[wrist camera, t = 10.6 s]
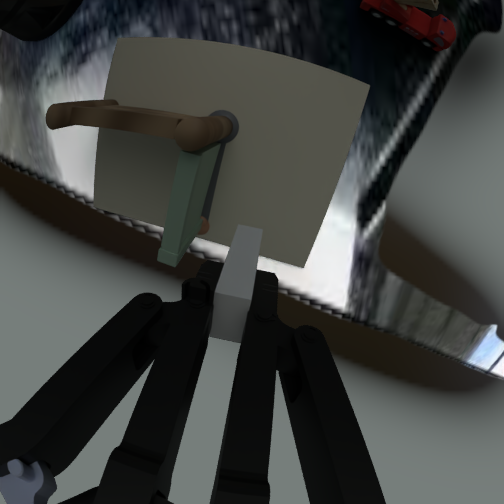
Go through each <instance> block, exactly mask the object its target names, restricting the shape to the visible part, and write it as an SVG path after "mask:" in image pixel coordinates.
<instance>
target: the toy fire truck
mask: <svg viewBox="0 0 504 504" xmlns="http://www.w3.org/2000/svg"><path fill="white" fill-rule="evenodd" d="M438 3H439V2H438V0H362V2H361V5H360V8H361V9H363V10H365V11H369V10H370V9H371V14H372V15H373V16H374V17H376V18H384V16H386V18H385V21H386V22H387V23H388V24H389V25H392V26H397V25H398V23H399V25H398V27H399V28H400V29H402V30H403V31H405V32H407V33H408V34H410V35H412V36H413V37H415V38H416V39H418V40H421V42H422V44H423V45H425V46H426V47H429V48H431V47H432V49H433V50H435V51H441V50H443V49H447V48H449V47H450V46H451V45H452V44H453V43H454V41H455V39H456V31H455V28H454V25H453V23H452V22H451V21H450V20H448V19H447V18H446V17H444V16H443V15H439V16H437V17H435V18H431V17H429V16H428V15H426V14H425V13H423V12H422V11H420V10H418V9H417V8H415V7H414V6H417V7H422V8H426V9H430V10H434V11H436V10H437V7H438Z"/></svg>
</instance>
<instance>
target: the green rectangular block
mask: <svg viewBox="0 0 504 504" xmlns="http://www.w3.org/2000/svg"><path fill="white" fill-rule="evenodd" d="M220 145H221V144H220V143H217V142H214V143H212V144H209V145H207V146H205V147H203V148H200V149H198V150H196V151H185V150H181V151H180V155H179V159H178V164H177V168H176V172H175V177H174V181H173V186H172V190H171V195H170V200H169V205H168V210H167V216H166V221H165V226H164V232H163V238H162V244H161V248H160V249H159V252H158V259H157V261H160V262H162V263H165V264H168V265H171V266H173V267H176V266H177V264H178V263H179V261H180V259H181V258H182V256H183V255H184V253H185V252H186V250H187V249H188V247H189V246H190V244H191V243H192V241H193V240H194V238H195V237H196V235H197V234H198V232H199V231H200V229H201V226H202V223H203V219H200V217H201V213H202V209H203V206H204V202H205V198H206V194H207V191H208V187H209V183H210V180H211V176H212V173H213V169H214V166H215V162H216V159H217V155H218V152H219V149H220Z"/></svg>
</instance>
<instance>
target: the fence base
mask: <svg viewBox="0 0 504 504" xmlns="http://www.w3.org/2000/svg"><path fill="white" fill-rule="evenodd" d="M46 124H47V126H48V127H49V128H50V129H52V130H54V129H59V128H63V127H68V126H73V125H83V126H92V127H100V128H108V129H115V130H122V131H129V132H135V133H142V134H147V135H153V136H159V137H164V138H169V139H175V141H176V143H177V145H178V146H179V147H180V148H181V149H183V150H185V151H196V150H198V149H200V148H203V147H205V146H207V145H209V144H212V143H214V142H216V141H218V140H221V139H223V138H225V137H227V136H229V135H230V134H231V132H232V130H233V124H232V121H231V120H230V119H229V118H228V117H226V116H206V117H197V116H191V115H186V114H180V113H174V112H168V111H161V110H155V109H147V108H139V107H130V106H121V105H119V104H118V102H117V101H116V100H114V99H108V100H89V101H77V102H66V103H58V104H53V105H51V106H50V107H49V109H48V110H47V113H46Z"/></svg>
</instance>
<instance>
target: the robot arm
mask: <svg viewBox="0 0 504 504" xmlns="http://www.w3.org/2000/svg"><path fill="white" fill-rule="evenodd" d="M81 1H82V0H0V29H1V30H3V31H5V32H7V33H9V34H11V35H13V36H15V37H17V38H18V39H20V40H23V41H41V40H43V39H45V38H47V37H49V36H50V35H52V34H53V33H55V32H56V31H57V30H58V29H59V28H60V27H61V26H62V25H63V24H64V23H65V22H66V21H67V20H68V19H69V18H70V17H71V15H72V14H73V13H74V12H75V10H76V9H77V7H78V6H79V5H80V3H81ZM262 232H263V229H259V228H254V227H250V226H245V225H240V224H238V227H237V229H236V232H235V235H234V238H233V241H232V243H231V246H230V249H229V252H228V255H227V258H226V261H225V263H220V262H215V261H210V260H207V261H206V262H205V263H203V264H202V265H201V267H200V269H199V272H198V273H197V276H196V278H190V279H188V280H185V281H184V282H183V284H182V299H181V300H180V301H177V302H162V300H161V298H160V297H159V296H157V295H156V294H153V293H142V294H139V295H137V296H136V297H134V298H133V299H132V300H131V301H130V302H129V303H128V304H127V305H125V306H124V307H123V308H122V309H121V310H120V311H119V312H118V313H117V314H116V315H115V316H114V317H112V318H111V319H110V320H109V321H108V322H107V323H106V324H105V325H104V326H103V327H102V328H101V329H100V330H99V331H98V332H96V333H95V334H94V335H93V336H92V337H91V338H90V339H89V340H88V341H87V342H86V343H85V344H84V345H83V346H82V347H81V348H80V349H79V350H78V351H77V352H76V353H75V354H74V355H73V356H72V357H71V358H70V359H69V360H68V361H67V362H66V363H65V364H64V365H63V366H62V367H61V368H60V369H59V370H58V371H57V372H56V373H55V374H54V375H53V376H52V377H51V378H50V379H49V380H48V381H47V382H46V383H45V384H44V385H43V386H42V387H41V388H40V389H39V391H37V392H36V393H35V395H34V396H33V397H32V398H31V399H30V400H29V401H28V402H27V403H26V404H25V405H24V406H23V408H21V410H20V411H19V412H18V413H17V414H16V415H15V416H14V417H13V418H12V419H11V420H9V421H7V422H5V423H3V424H1V425H0V491H1V493H2V495H3V497H4V499H5V501H6V503H7V504H47V501H48V499H49V497H50V496H51V495H52V494H53V493H54V492H55V491H56V489H57V485H56V482H55V478H54V477H55V476H57V475H58V474H60V473H61V472H62V471H64V470H65V469H66V468H67V467H68V466H69V465H70V464H71V463H72V461H74V459H75V458H76V457H77V456H78V454H79V453H80V452H81V451H82V449H83V448H84V447H85V445H86V444H87V443H88V442H89V440H90V439H91V438H92V437H93V435H94V434H95V433H96V432H97V430H98V429H99V428H100V427H101V425H102V424H103V423H104V421H105V420H106V419H107V418H108V417H109V415H110V414H111V413H112V411H113V410H114V409H115V407H116V406H117V405H118V404H119V403H120V401H121V400H122V399H123V398H124V396H125V395H126V394H127V393H128V391H129V390H130V389H131V388H132V386H133V385H134V384H135V382H136V381H137V380H138V379H139V378H140V376H141V375H142V374H143V373H144V371H145V370H146V369H147V368H148V366H149V365H150V364H151V363H152V362H153V360H154V359H155V360H154V362H153V365H152V367H151V369H150V372H149V374H148V376H147V379H146V381H145V384H144V386H143V388H142V391H141V394H140V396H139V398H138V401H137V403H136V406H135V408H134V411H133V413H132V416H131V418H130V421H129V424H128V426H127V429H126V431H125V434H124V437H123V439H122V442H121V444H120V445H119V446H118V447H116V448H115V449H114V450H113V451H112V453H111V455H110V457H109V459H108V462H107V464H106V467H105V470H104V473H103V476H102V479H101V481H100V484H99V486H97V487H94V488H92V489H90V490H87V491H85V492H83V493H81V494H79V495H77V496H74V497H72V498H70V499H68V500H65V501H63V502H60V503H58V504H174V503H172V502H170V501H168V496H169V492H170V487H171V478H172V473H173V469H174V465H175V462H176V458H177V454H178V450H179V447H180V442H181V439H182V435H183V432H184V428H185V424H186V421H187V417H188V413H189V410H190V406H191V402H192V399H193V395H194V391H195V388H196V384H197V381H198V377H199V374H200V370H201V366H202V363H203V359H204V356H205V353H206V349H207V345H208V338H209V334H210V337H214V338H219V339H223V340H228V341H232V342H237V343H241V345H240V349H239V354H238V358H237V365H236V370H235V376H234V381H233V387H232V392H231V397H230V402H229V408H228V414H227V418H226V424H225V429H224V435H223V439H222V445H221V450H220V455H219V460H218V465H217V471H216V476H215V481H214V486H213V490H212V495H211V499H210V504H269V501H270V485H269V483H268V467H269V455H270V445H271V433H272V421H273V408H274V394H275V380H276V370H278V371H279V377H280V381H281V385H282V389H283V393H284V397H285V402H286V406H287V410H288V414H289V418H290V423H291V427H292V431H293V435H294V439H295V443H296V448H297V452H298V456H299V460H300V464H301V469H302V473H303V477H304V481H305V485H306V489H307V493H308V497H309V501H310V504H386V502H385V499H384V496H383V493H382V490H381V487H380V484H379V481H378V478H377V475H376V472H375V469H374V466H373V464H372V460H371V458H370V455H369V452H368V449H367V446H366V443H365V441H364V438H363V435H362V433H361V430H360V427H359V424H358V422H357V419H356V416H355V414H354V411H353V408H352V406H351V403H350V400H349V398H348V395H347V393H346V390H345V387H344V385H343V382H342V380H341V377H340V375H339V372H338V369H337V367H336V365H335V362H334V359H333V357H332V355H331V352H330V350H329V347H328V345H327V342H326V340H325V337H324V335H323V334H322V332H321V331H320V330H318V329H317V328H315V327H312V326H308V325H303V326H299V327H298V328H297V329H294V328H291V327H289V326H287V325H285V324H284V323H283V322H282V321H281V320H280V319H279V318H278V315H277V298H278V297H277V296H278V278H277V276H276V275H275V273H272V272H267V271H262V270H257V263H258V257H259V251H260V244H261V238H262Z"/></svg>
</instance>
